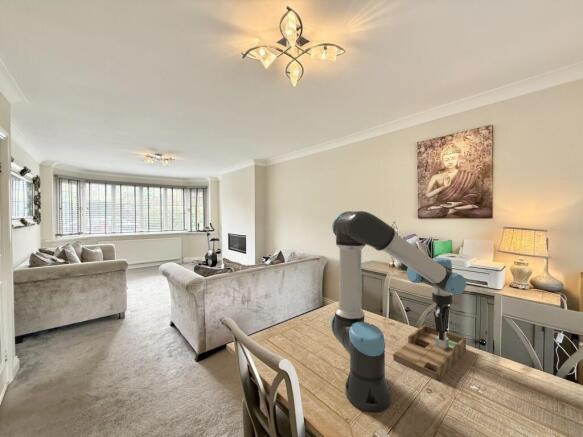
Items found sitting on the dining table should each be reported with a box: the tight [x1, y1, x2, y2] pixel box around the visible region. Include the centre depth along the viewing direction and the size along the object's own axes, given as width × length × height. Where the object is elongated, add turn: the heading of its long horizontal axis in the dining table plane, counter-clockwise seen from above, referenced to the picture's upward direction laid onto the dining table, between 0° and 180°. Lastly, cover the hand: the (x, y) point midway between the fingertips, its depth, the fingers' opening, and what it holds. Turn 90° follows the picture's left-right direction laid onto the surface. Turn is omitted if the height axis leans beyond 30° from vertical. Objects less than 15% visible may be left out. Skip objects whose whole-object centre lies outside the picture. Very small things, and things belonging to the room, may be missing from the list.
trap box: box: [392, 324, 467, 382], centre depth 109 cm, size 32×18×6 cm, turn 130°
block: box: [436, 336, 449, 350], centre depth 111 cm, size 4×4×4 cm
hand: (442, 346), depth 108 cm, fingers closed
